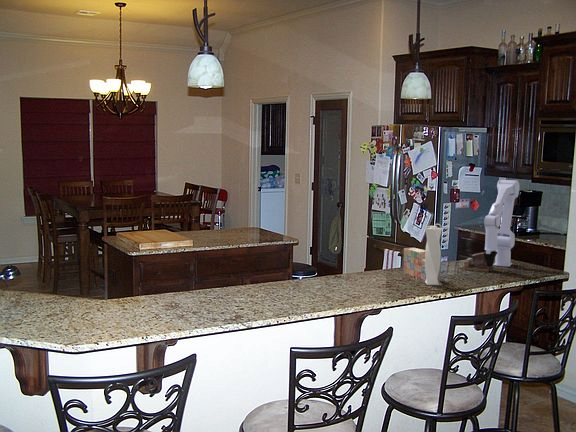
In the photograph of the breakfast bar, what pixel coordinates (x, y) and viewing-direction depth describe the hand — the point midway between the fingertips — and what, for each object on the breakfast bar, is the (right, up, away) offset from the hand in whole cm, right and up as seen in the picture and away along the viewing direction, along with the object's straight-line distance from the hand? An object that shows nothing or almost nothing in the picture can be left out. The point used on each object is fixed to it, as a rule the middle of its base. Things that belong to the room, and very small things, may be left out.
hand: (490, 266), depth 321 cm
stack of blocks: (-38, -4, -15) cm, 41 cm away
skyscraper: (-35, -6, -30) cm, 47 cm away
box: (-3, -1, +2) cm, 4 cm away
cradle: (-4, -2, +3) cm, 5 cm away
